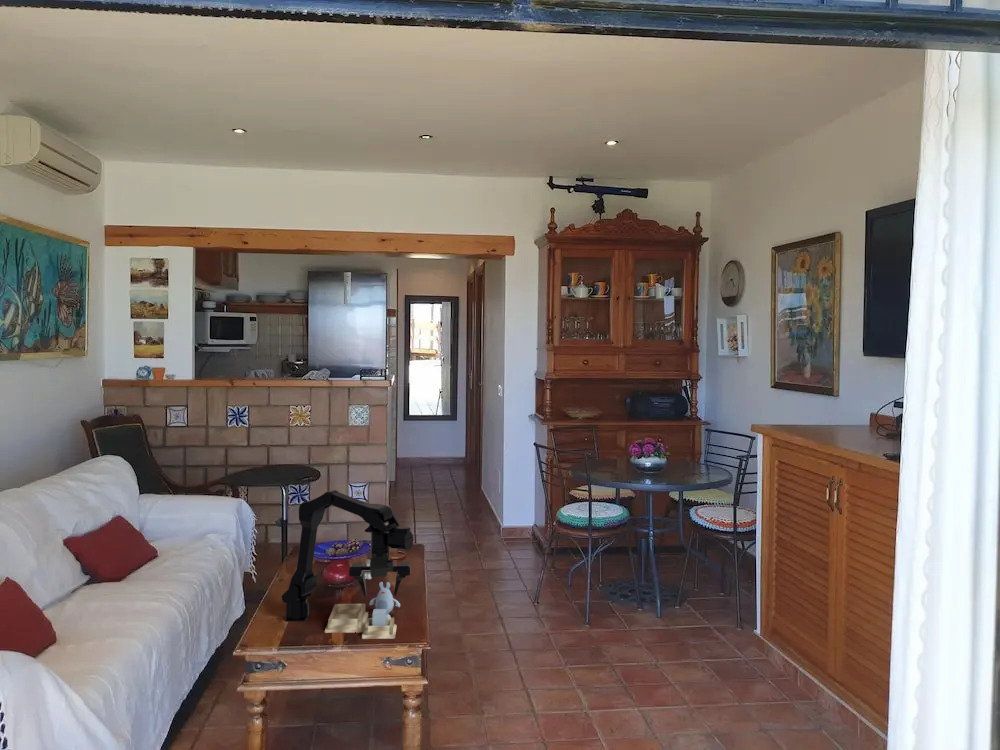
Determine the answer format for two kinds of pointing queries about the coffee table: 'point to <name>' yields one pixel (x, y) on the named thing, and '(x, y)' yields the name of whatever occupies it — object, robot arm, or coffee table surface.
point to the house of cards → (368, 574)
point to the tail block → (380, 617)
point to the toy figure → (384, 599)
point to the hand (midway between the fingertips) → (380, 596)
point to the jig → (358, 622)
